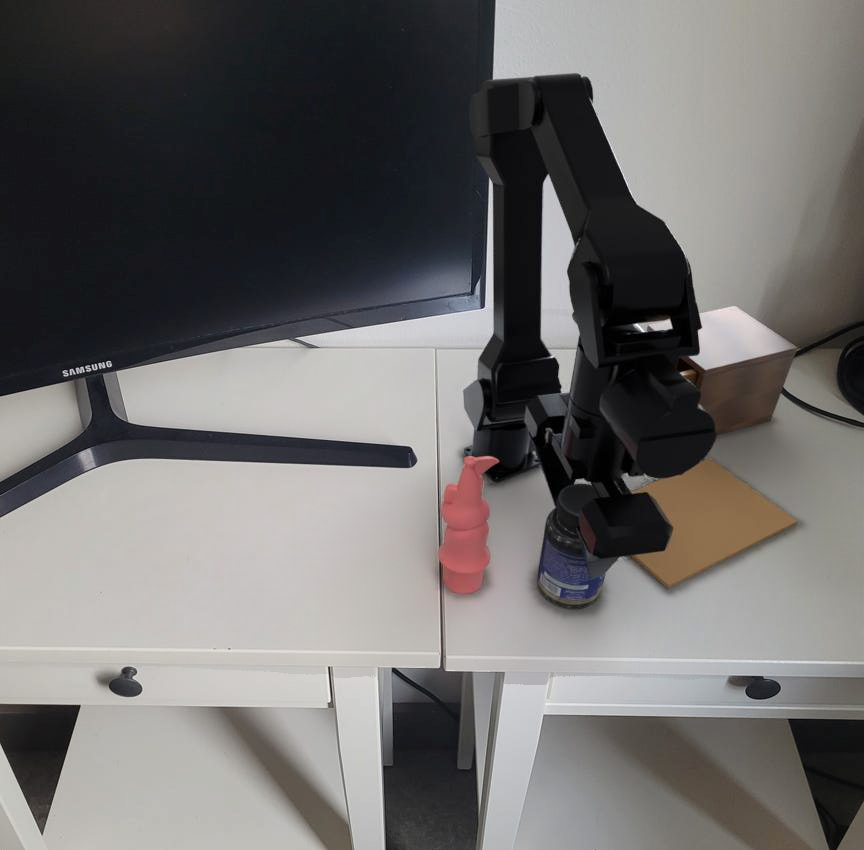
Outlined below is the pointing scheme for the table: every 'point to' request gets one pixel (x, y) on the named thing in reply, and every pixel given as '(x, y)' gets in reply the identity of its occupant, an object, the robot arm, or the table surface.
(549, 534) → the pill bottle
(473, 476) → the figurine
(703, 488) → the mat
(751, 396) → the cabinet
